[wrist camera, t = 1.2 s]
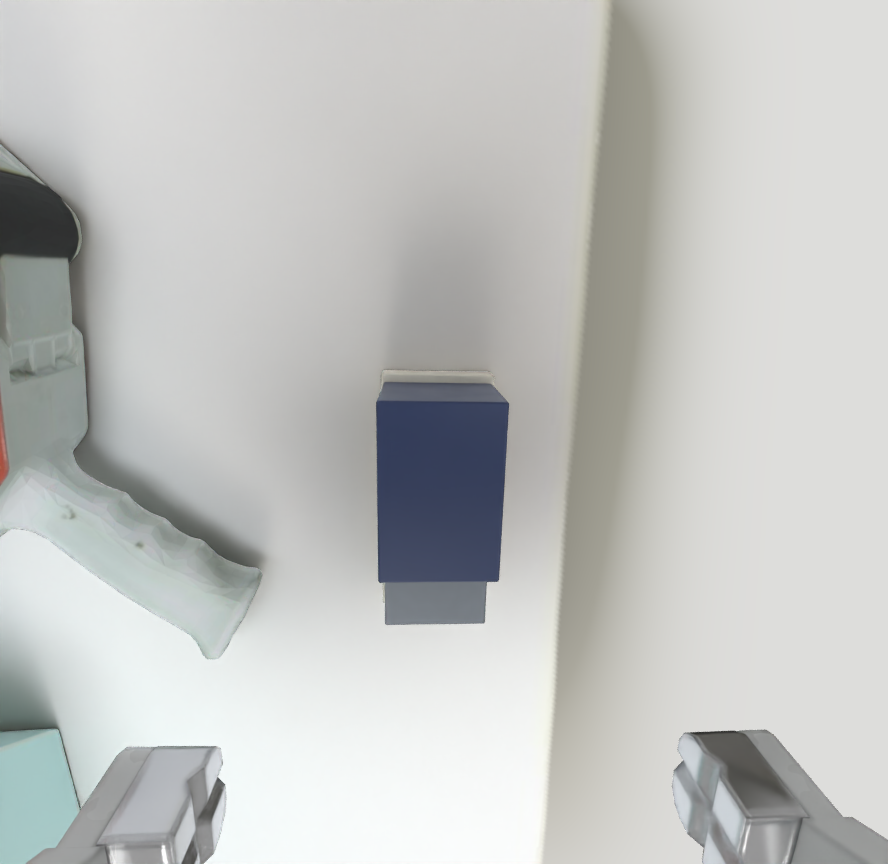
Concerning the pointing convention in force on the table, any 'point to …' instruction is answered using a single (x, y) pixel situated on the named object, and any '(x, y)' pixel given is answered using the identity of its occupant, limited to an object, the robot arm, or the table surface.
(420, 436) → the navy lidded box
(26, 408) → the tape dispenser
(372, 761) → the table surface
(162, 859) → the robot arm
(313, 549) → the table surface
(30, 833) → the cyan faceted polyhedron
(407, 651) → the table surface
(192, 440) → the table surface
